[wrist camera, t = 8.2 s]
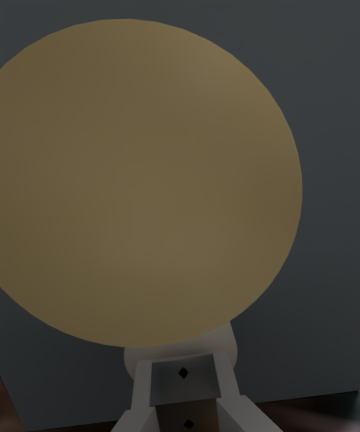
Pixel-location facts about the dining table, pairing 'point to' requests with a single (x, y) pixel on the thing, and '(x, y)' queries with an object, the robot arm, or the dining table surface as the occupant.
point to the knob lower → (185, 348)
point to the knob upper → (141, 183)
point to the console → (306, 232)
